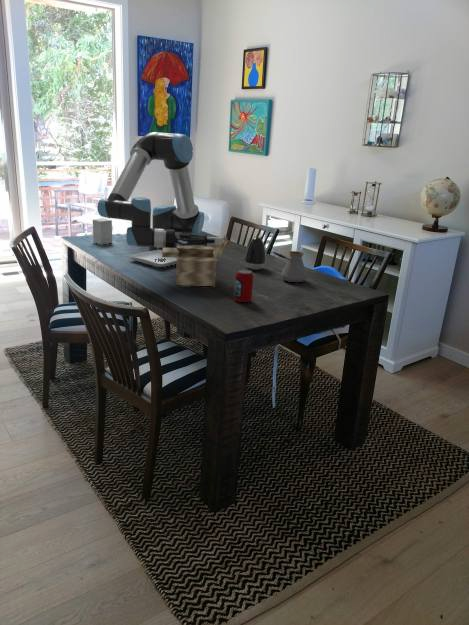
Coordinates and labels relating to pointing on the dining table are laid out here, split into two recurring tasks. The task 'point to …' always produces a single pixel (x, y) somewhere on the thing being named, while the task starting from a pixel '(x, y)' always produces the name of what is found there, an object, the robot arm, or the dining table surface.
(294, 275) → the coffee pot
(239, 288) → the beverage can
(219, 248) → the carton flap
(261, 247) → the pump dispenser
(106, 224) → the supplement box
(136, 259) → the salad plate
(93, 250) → the dining table surface
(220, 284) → the dining table surface
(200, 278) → the carton
